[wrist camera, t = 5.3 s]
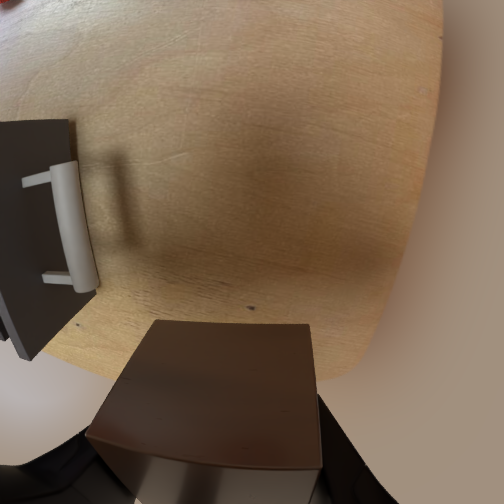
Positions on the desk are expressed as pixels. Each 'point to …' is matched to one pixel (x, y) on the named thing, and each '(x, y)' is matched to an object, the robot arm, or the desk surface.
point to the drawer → (41, 235)
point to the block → (215, 415)
